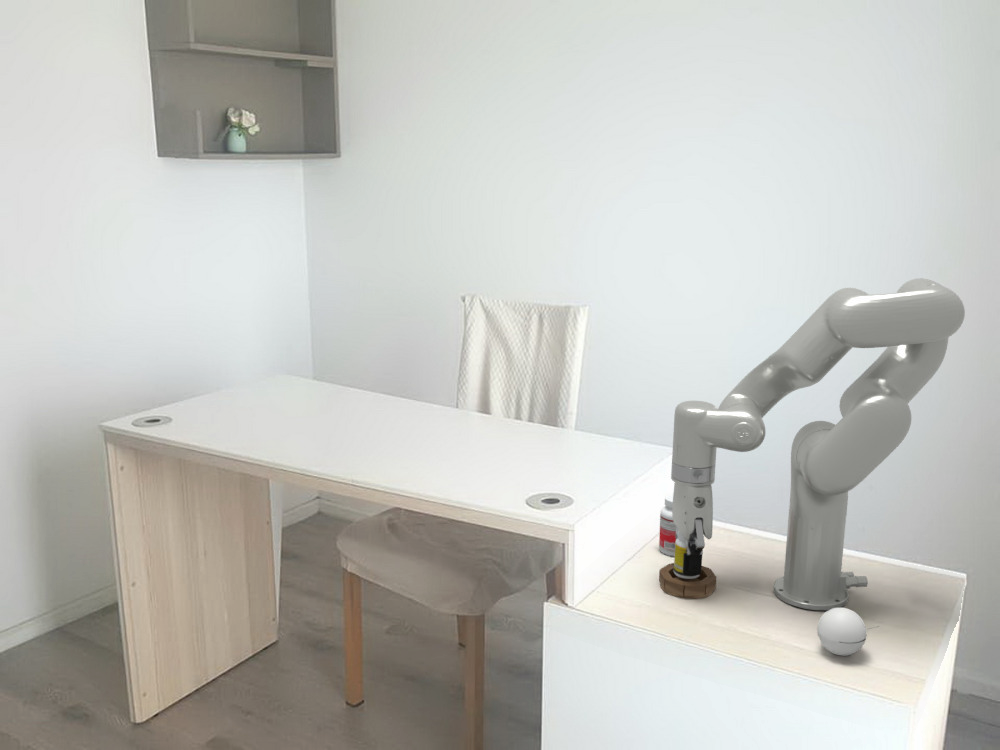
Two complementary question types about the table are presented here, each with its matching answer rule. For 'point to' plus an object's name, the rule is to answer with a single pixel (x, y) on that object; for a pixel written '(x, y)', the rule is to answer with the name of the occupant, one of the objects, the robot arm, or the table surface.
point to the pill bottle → (667, 528)
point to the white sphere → (842, 631)
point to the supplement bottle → (681, 556)
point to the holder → (687, 583)
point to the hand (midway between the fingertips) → (687, 566)
